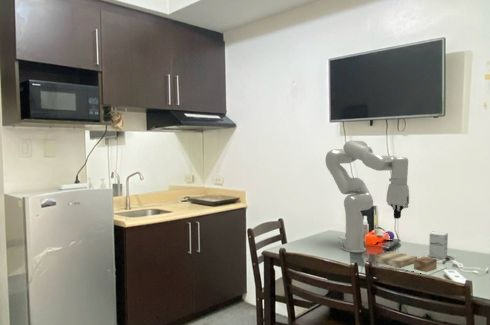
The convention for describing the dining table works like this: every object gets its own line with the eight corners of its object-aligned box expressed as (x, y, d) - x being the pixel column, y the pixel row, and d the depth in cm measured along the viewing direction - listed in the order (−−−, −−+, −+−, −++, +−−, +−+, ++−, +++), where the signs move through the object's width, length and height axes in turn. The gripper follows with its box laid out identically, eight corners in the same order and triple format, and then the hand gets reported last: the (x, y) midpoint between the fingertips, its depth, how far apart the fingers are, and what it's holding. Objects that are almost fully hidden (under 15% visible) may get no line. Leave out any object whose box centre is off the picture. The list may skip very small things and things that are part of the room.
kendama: (367, 237, 234) (386, 230, 246) (369, 247, 234) (388, 239, 246) (376, 237, 229) (395, 230, 241) (378, 247, 229) (397, 239, 241)
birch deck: (376, 261, 196) (376, 255, 196) (391, 256, 204) (391, 251, 204) (401, 267, 185) (401, 261, 185) (417, 262, 193) (417, 256, 193)
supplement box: (428, 257, 203) (428, 233, 203) (432, 254, 209) (432, 230, 208) (444, 259, 198) (444, 235, 198) (447, 256, 204) (448, 232, 204)
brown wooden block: (426, 262, 177) (426, 272, 177) (436, 259, 182) (436, 268, 182) (413, 259, 182) (413, 268, 182) (424, 256, 187) (424, 265, 187)
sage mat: (400, 268, 183) (400, 268, 183) (420, 262, 194) (420, 261, 194) (426, 275, 173) (426, 274, 173) (446, 268, 183) (446, 267, 183)
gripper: (381, 180, 196) (379, 216, 198) (408, 184, 184) (406, 222, 186) (389, 179, 201) (388, 214, 202) (417, 183, 189) (415, 220, 190)
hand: (397, 218), depth 194 cm, fingers closed
